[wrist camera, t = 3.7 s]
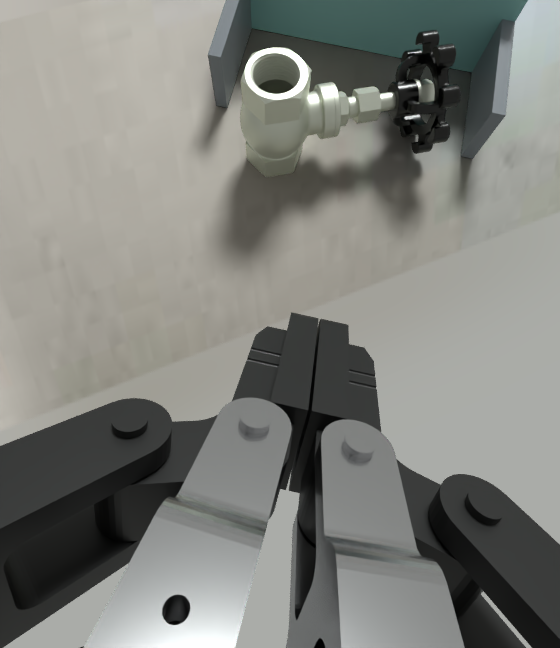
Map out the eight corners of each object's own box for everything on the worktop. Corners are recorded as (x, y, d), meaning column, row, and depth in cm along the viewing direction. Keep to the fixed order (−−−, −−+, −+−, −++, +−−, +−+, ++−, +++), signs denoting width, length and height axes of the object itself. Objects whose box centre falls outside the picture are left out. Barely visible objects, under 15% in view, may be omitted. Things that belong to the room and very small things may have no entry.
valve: (253, 203, 27) (427, 172, 28) (248, 132, 20) (475, 96, 21) (235, 119, 28) (400, 93, 29) (225, 29, 22) (437, -1, 23)
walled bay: (216, 105, 28) (202, 22, 23) (243, 17, 30) (237, -80, 25) (472, 158, 28) (526, 87, 22) (483, 65, 30) (535, -22, 24)
